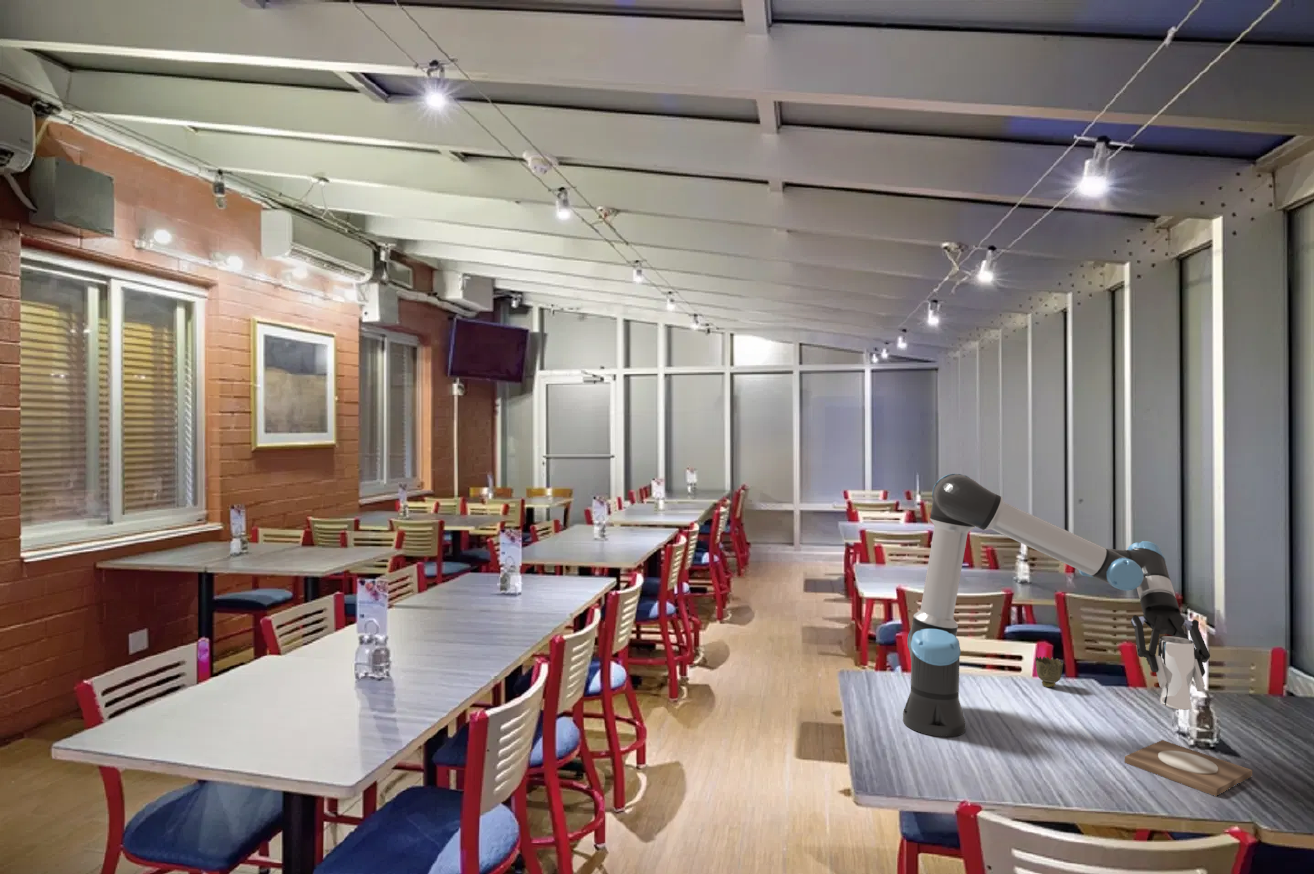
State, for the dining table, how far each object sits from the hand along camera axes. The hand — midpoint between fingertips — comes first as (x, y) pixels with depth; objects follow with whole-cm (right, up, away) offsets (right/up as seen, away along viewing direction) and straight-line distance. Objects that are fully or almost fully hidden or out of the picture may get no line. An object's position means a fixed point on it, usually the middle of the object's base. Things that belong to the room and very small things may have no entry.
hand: (1182, 686), depth 164 cm
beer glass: (+1, -6, +3) cm, 7 cm away
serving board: (+2, -19, +2) cm, 20 cm away
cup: (0, -19, +55) cm, 59 cm away
